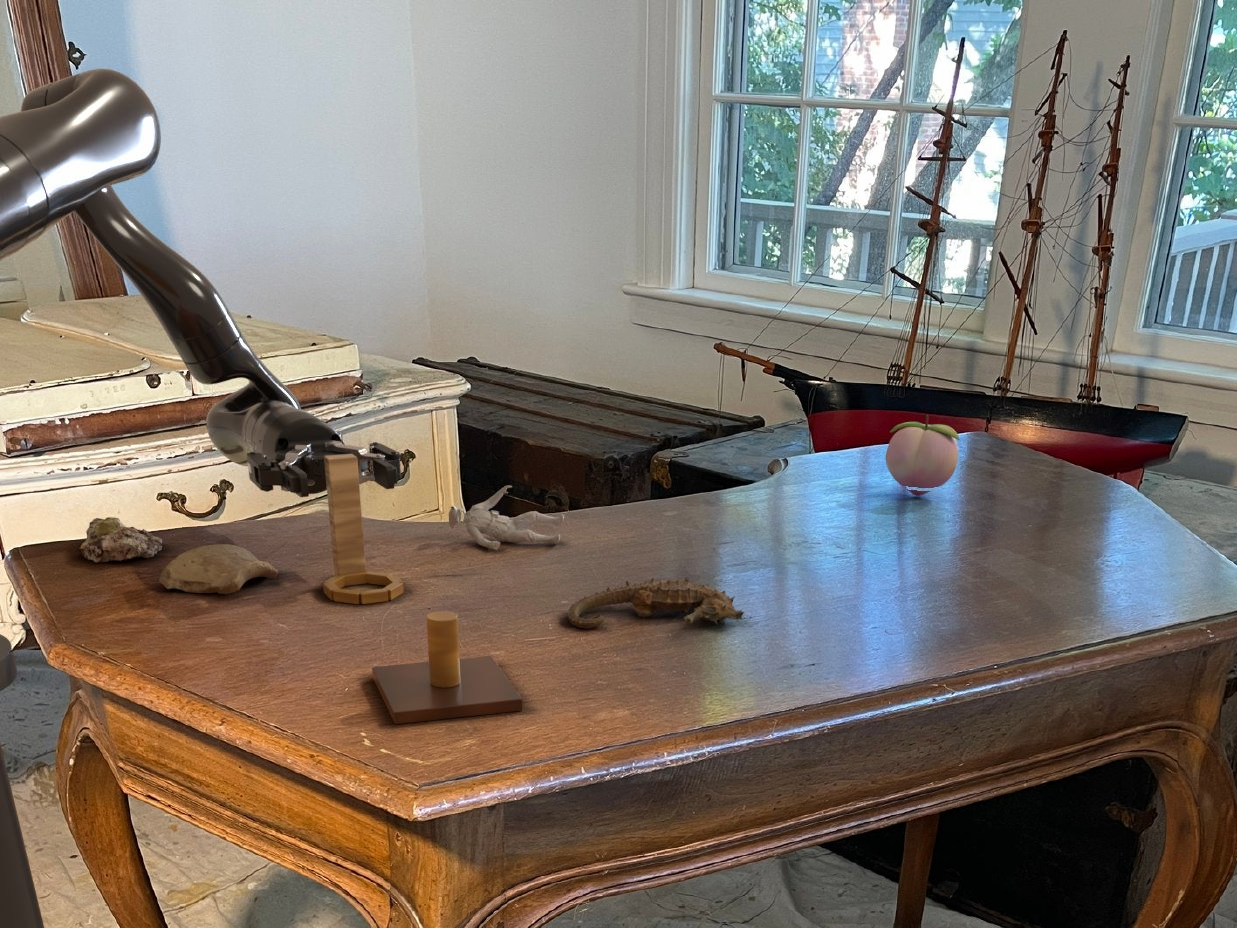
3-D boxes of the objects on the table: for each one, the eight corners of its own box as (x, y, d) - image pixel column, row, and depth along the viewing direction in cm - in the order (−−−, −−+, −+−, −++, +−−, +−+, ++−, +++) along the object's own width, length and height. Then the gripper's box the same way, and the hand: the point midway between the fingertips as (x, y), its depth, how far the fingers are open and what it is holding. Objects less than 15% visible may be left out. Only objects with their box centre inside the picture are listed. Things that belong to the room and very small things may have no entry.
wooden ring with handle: (411, 598, 125) (403, 471, 119) (338, 607, 121) (326, 477, 116) (383, 573, 131) (374, 452, 125) (312, 581, 128) (300, 457, 122)
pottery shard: (156, 603, 125) (226, 596, 120) (144, 557, 124) (213, 548, 118) (241, 582, 134) (309, 575, 128) (230, 539, 132) (299, 530, 127)
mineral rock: (178, 534, 133) (96, 523, 127) (173, 577, 134) (92, 567, 129) (143, 515, 140) (65, 503, 135) (138, 555, 141) (61, 545, 136)
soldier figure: (555, 562, 140) (447, 528, 137) (544, 582, 144) (439, 549, 141) (568, 500, 142) (462, 465, 139) (557, 521, 147) (453, 487, 143)
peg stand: (394, 724, 98) (388, 642, 95) (372, 678, 106) (366, 601, 103) (522, 710, 101) (521, 631, 98) (491, 666, 109) (489, 591, 106)
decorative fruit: (960, 493, 170) (972, 414, 165) (946, 506, 163) (957, 424, 158) (890, 484, 173) (900, 406, 168) (873, 497, 166) (883, 416, 161)
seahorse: (576, 597, 126) (576, 566, 125) (742, 605, 126) (744, 574, 124) (564, 629, 118) (564, 596, 117) (742, 638, 118) (744, 605, 116)
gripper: (223, 415, 130) (268, 447, 118) (360, 406, 136) (417, 435, 124) (233, 491, 133) (278, 529, 121) (366, 479, 140) (421, 514, 128)
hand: (348, 482), depth 123 cm, fingers open, 8 cm apart
